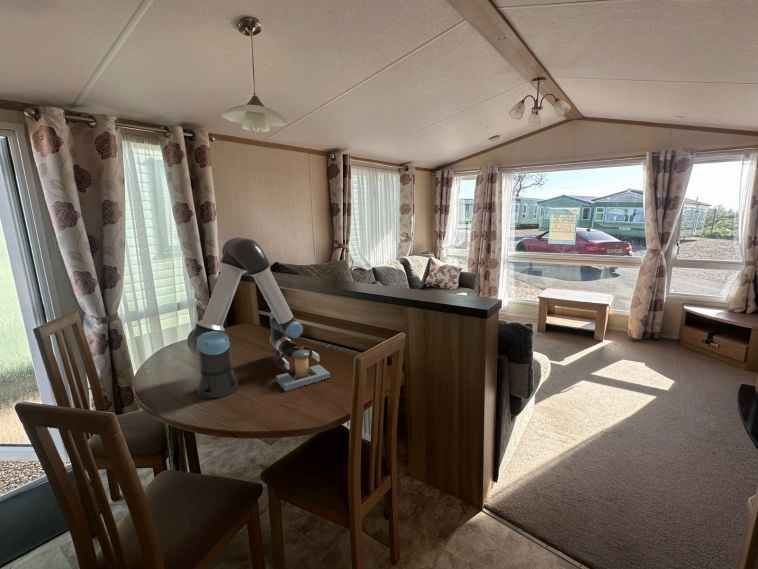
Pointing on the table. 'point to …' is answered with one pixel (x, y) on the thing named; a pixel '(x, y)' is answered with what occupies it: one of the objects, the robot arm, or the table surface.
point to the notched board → (290, 383)
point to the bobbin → (301, 364)
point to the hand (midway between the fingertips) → (303, 362)
